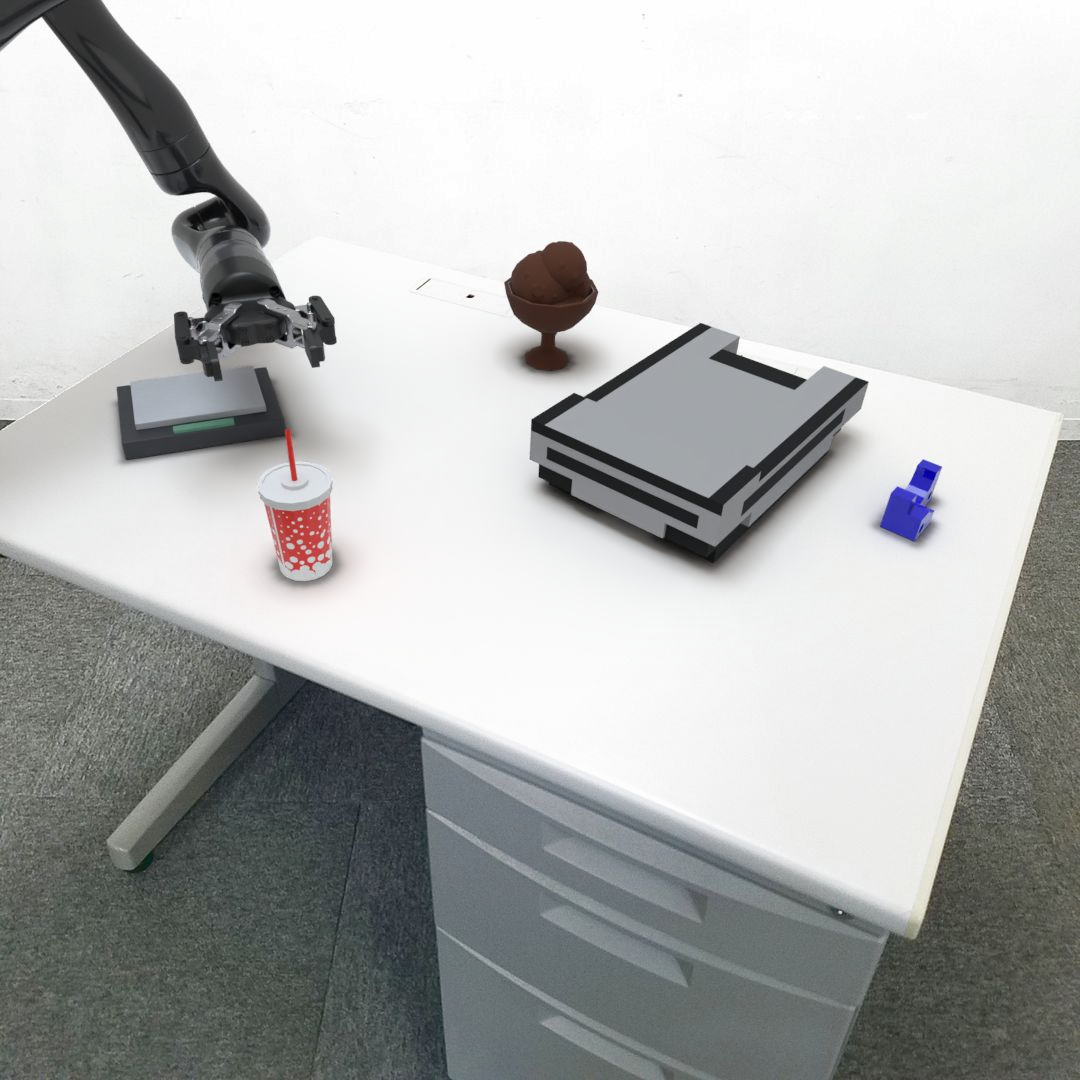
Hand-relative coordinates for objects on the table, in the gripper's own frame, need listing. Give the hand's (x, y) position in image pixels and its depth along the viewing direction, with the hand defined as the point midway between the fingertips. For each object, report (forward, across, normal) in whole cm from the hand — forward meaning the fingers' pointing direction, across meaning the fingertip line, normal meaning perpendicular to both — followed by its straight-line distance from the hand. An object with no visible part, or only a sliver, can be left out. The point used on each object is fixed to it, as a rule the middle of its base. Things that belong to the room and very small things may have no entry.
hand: (267, 365), depth 85 cm
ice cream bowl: (-19, +35, +15) cm, 42 cm away
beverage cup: (+11, 0, +14) cm, 18 cm away
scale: (-17, -6, +14) cm, 23 cm away
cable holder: (+22, +58, +15) cm, 64 cm away
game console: (+7, +42, +14) cm, 45 cm away
